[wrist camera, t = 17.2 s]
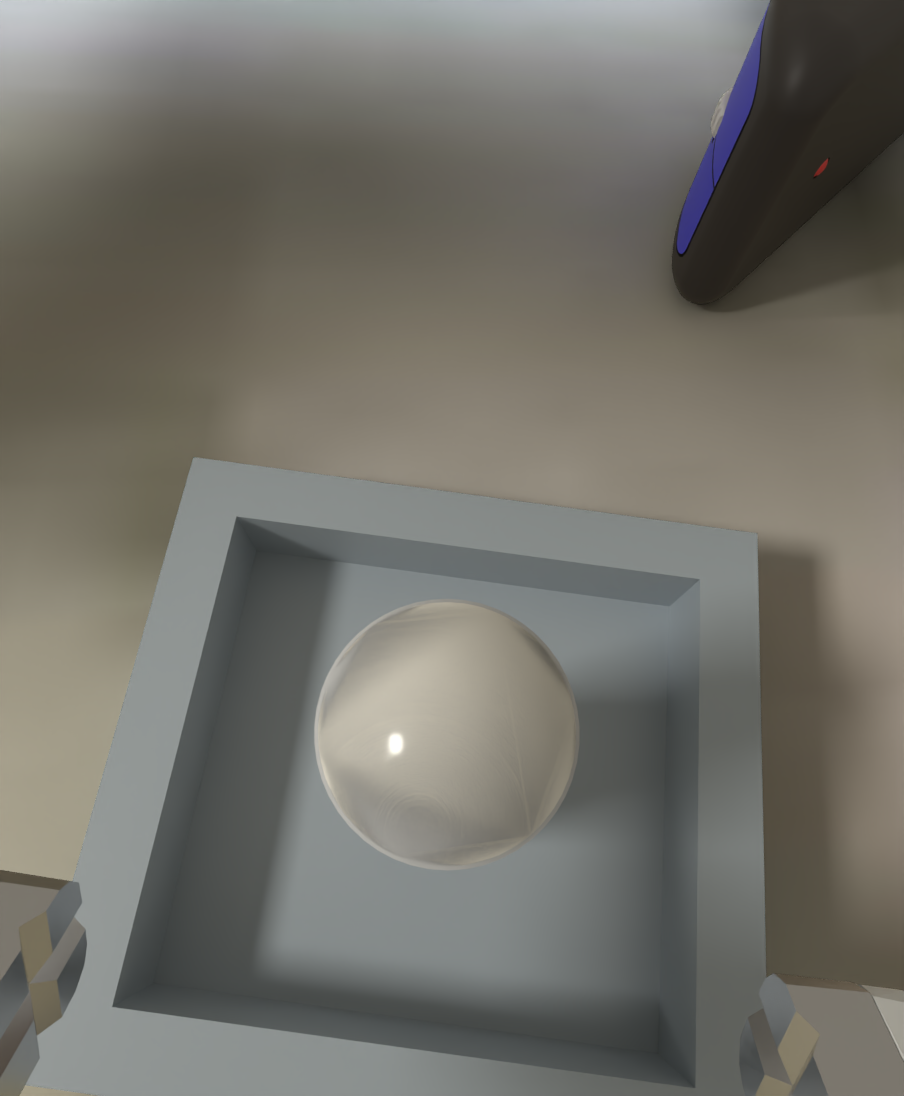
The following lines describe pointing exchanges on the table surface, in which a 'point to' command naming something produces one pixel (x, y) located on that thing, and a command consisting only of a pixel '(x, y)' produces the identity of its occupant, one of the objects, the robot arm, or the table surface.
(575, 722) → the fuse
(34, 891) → the robot arm
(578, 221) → the table surface
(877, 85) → the leaning round-cornered charcoal block
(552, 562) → the parts tray
